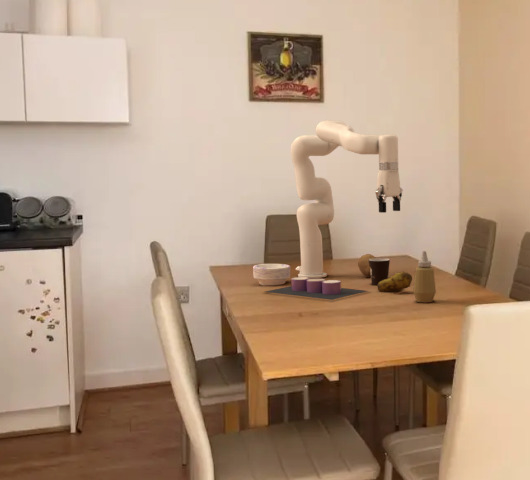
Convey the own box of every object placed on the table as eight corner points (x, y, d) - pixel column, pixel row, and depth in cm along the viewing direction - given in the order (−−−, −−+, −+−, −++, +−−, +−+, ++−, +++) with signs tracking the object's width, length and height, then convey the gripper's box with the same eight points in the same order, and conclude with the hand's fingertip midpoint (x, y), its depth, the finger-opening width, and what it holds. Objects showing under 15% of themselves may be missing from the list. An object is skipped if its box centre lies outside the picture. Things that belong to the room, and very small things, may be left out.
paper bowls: (298, 284, 320) (297, 264, 318) (269, 288, 309) (268, 269, 308) (275, 280, 330) (274, 262, 328) (246, 285, 319) (245, 265, 318)
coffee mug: (387, 285, 312) (387, 261, 310) (367, 285, 314) (366, 260, 312) (393, 281, 323) (393, 257, 321) (373, 281, 325) (373, 257, 323)
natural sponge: (369, 274, 343) (369, 252, 341) (383, 276, 337) (383, 253, 335) (354, 277, 337) (353, 254, 335) (368, 279, 331) (367, 255, 328)
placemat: (264, 293, 300) (264, 291, 299) (302, 285, 317) (302, 283, 317) (331, 301, 280) (331, 299, 280) (368, 292, 298) (368, 290, 298)
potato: (382, 290, 303) (382, 269, 301) (414, 291, 299) (414, 270, 297) (375, 293, 295) (375, 272, 293) (408, 295, 291) (407, 273, 289)
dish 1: (287, 290, 302) (287, 278, 301) (300, 287, 308) (299, 276, 307) (301, 291, 298) (301, 280, 297) (314, 289, 304) (313, 277, 303)
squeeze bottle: (421, 298, 283) (420, 249, 279) (440, 300, 278) (440, 250, 274) (409, 302, 276) (408, 251, 272) (428, 304, 272) (427, 253, 268)
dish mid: (302, 291, 298) (302, 280, 297) (315, 289, 303) (314, 277, 302) (317, 293, 294) (316, 281, 293) (329, 290, 299) (328, 279, 298)
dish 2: (318, 293, 293) (317, 282, 292) (330, 290, 299) (330, 279, 298) (333, 295, 289) (332, 283, 288) (345, 292, 295) (344, 280, 294)
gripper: (393, 167, 311) (394, 210, 315) (367, 167, 297) (369, 212, 301) (408, 166, 307) (409, 210, 310) (383, 167, 293) (384, 213, 296)
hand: (389, 211), depth 306 cm, fingers open, 9 cm apart
